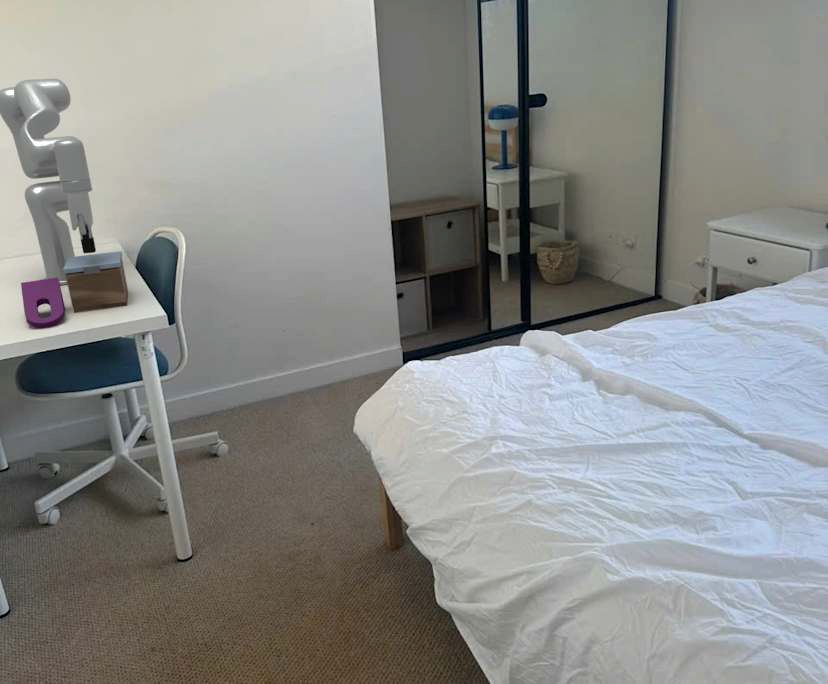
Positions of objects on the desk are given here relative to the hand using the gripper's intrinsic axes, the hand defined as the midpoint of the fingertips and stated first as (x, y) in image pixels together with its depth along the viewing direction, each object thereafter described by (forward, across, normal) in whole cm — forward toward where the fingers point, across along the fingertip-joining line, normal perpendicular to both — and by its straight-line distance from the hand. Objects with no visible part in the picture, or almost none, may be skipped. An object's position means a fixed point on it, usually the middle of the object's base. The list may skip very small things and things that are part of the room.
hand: (89, 252), depth 208 cm
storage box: (+16, -3, 0) cm, 16 cm away
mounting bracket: (+16, +7, -13) cm, 22 cm away
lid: (+5, -3, 0) cm, 6 cm away
